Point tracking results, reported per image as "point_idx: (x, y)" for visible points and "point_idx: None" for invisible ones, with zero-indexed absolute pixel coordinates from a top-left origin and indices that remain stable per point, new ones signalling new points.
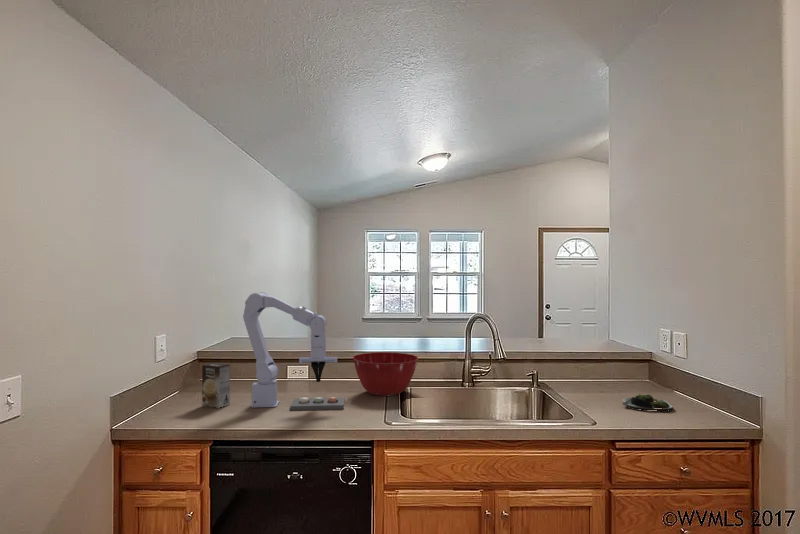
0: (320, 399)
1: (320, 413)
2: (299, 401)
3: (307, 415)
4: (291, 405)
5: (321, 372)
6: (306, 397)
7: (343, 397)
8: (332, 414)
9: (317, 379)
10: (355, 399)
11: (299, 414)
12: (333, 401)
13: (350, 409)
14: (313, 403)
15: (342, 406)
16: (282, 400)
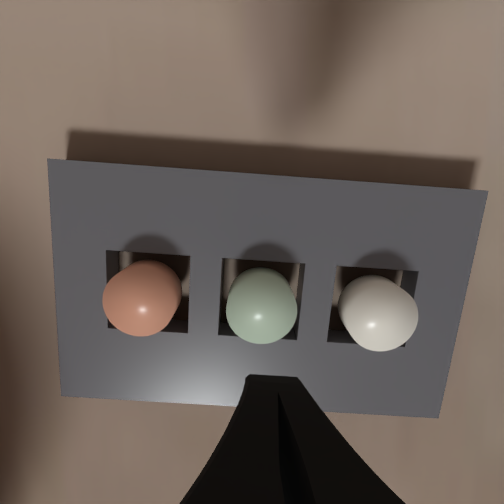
0: (243, 279)
1: (241, 56)
2: None
3: (344, 8)
4: (476, 213)
5: (198, 486)
6: (362, 345)
7: (71, 396)
8: (144, 6)
9: (289, 391)
10: (5, 414)
11: (405, 52)
12: (137, 264)
13: (12, 143)
14: (299, 251)
15: (63, 160)
16: (499, 454)
